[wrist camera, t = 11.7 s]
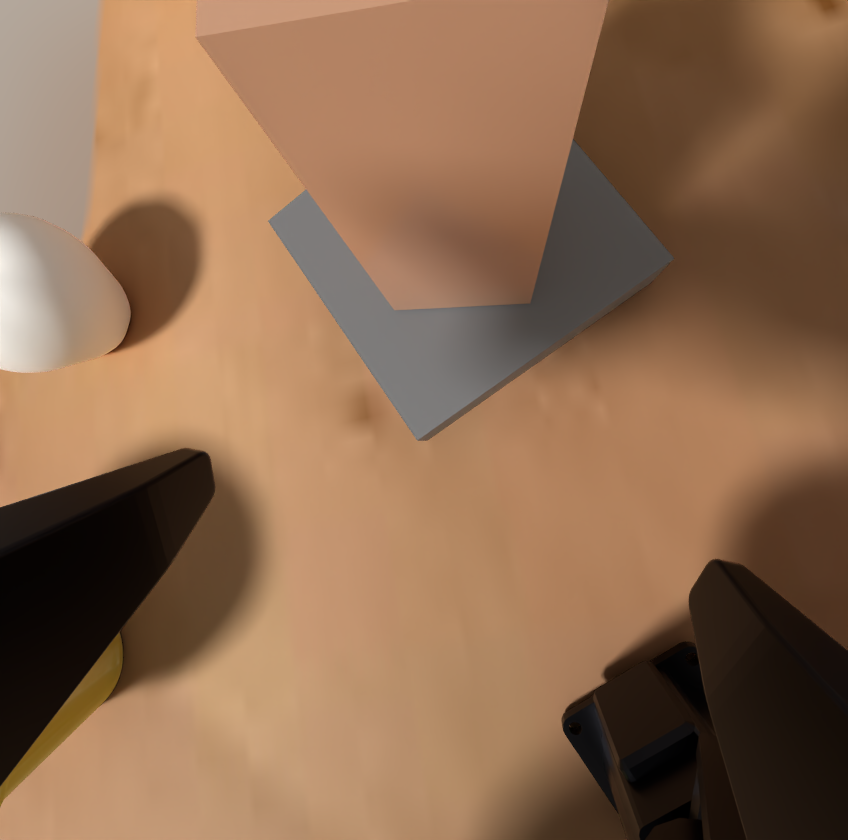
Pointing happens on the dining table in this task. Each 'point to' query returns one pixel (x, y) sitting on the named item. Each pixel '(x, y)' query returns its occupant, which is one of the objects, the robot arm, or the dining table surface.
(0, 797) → the plant pot
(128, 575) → the robot arm
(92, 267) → the plain white apple
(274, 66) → the tan rectangular block
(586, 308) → the flat gray slab
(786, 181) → the dining table surface
